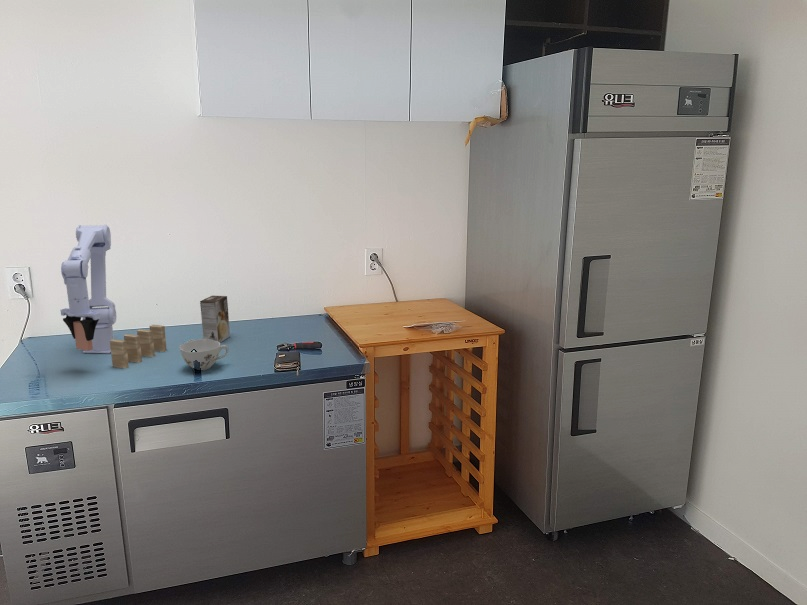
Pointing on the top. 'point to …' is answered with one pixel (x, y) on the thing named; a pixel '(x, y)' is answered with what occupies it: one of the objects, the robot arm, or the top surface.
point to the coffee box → (215, 318)
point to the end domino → (81, 337)
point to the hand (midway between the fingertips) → (83, 338)
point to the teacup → (202, 352)
